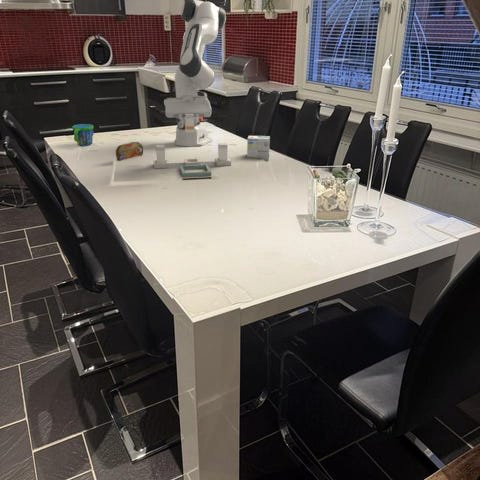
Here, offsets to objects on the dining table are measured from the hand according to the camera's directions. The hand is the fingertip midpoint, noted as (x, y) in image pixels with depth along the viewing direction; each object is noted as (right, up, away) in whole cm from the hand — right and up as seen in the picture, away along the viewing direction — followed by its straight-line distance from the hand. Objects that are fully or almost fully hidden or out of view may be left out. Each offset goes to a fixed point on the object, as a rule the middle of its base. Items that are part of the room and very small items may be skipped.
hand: (189, 124), depth 202 cm
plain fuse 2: (+14, -15, +11) cm, 24 cm away
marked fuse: (0, -4, +3) cm, 5 cm away
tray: (+3, -23, -2) cm, 23 cm away
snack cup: (-62, +1, +48) cm, 78 cm away
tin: (-31, -13, +20) cm, 39 cm away
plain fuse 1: (-13, -17, +6) cm, 23 cm away
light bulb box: (+31, -11, +26) cm, 42 cm away
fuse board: (0, -18, +9) cm, 20 cm away
